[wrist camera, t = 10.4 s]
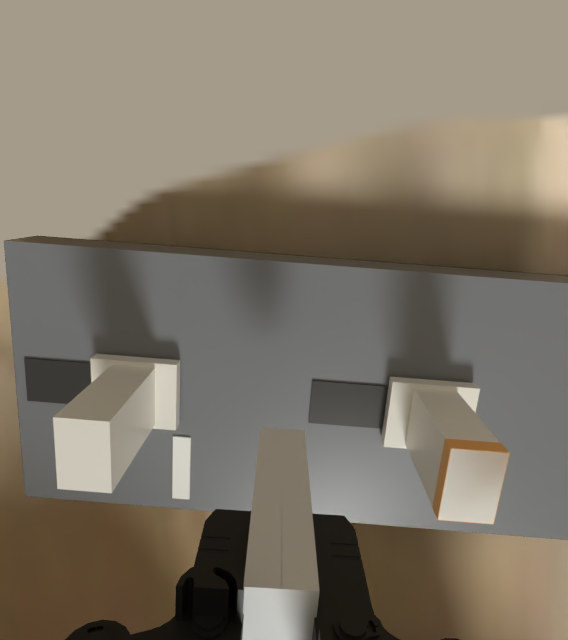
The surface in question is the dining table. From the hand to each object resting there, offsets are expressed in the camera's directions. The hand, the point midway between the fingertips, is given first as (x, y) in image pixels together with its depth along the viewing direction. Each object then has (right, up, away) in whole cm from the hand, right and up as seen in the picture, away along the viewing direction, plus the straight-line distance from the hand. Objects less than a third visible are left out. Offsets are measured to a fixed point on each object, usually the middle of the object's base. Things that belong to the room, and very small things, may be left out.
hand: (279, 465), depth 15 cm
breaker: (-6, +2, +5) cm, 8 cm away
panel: (+4, +2, +7) cm, 8 cm away
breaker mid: (+6, +1, +4) cm, 8 cm away
